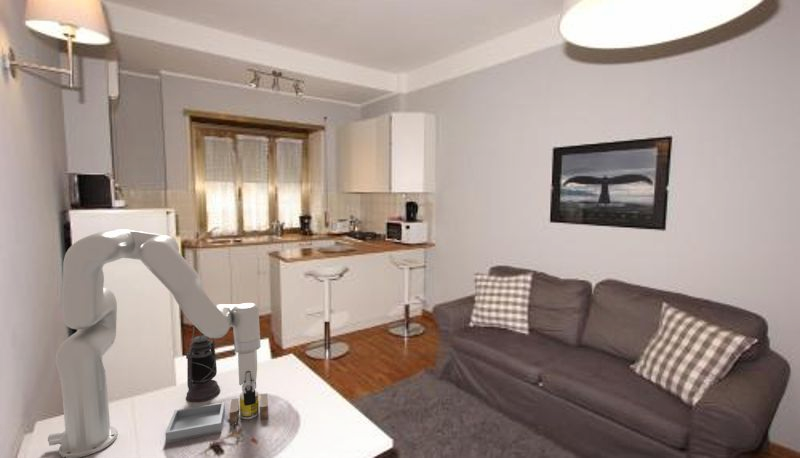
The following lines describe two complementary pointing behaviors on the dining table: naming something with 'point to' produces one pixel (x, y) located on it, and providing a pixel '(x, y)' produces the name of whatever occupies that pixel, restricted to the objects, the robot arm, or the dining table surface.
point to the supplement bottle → (248, 406)
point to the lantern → (201, 370)
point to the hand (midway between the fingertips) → (250, 396)
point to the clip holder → (235, 409)
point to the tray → (195, 422)
